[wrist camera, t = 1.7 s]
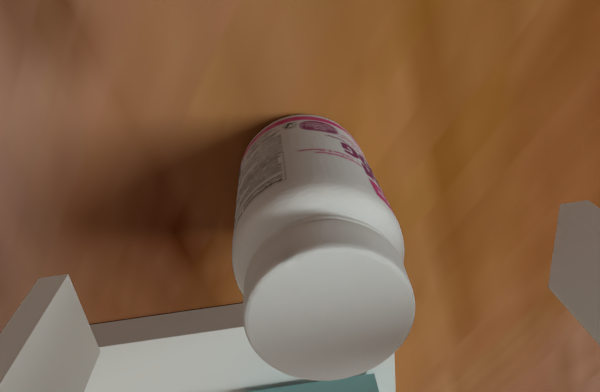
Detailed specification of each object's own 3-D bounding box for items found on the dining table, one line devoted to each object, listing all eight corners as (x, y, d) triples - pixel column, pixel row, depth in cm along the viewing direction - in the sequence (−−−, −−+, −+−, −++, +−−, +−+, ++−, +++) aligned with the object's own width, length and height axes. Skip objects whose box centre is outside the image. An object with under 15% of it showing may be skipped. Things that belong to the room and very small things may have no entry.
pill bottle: (388, 154, 18) (477, 296, 11) (315, 242, 20) (348, 418, 12) (286, 84, 17) (308, 193, 9) (216, 185, 18) (185, 348, 11)
